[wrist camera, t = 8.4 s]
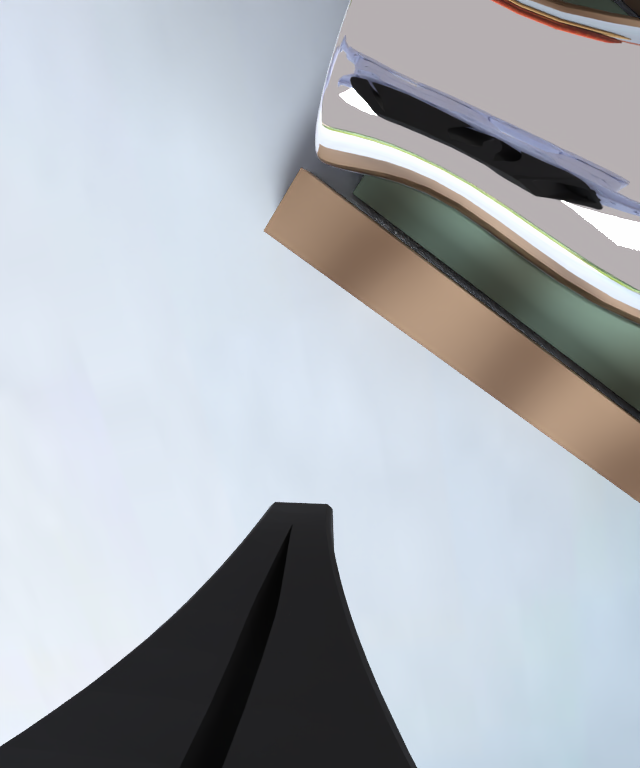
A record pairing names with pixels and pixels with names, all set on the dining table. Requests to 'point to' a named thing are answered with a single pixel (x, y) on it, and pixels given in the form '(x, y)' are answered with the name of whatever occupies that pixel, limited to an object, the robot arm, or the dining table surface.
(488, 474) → the dining table surface
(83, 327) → the dining table surface
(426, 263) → the cradle
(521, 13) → the beer glass
